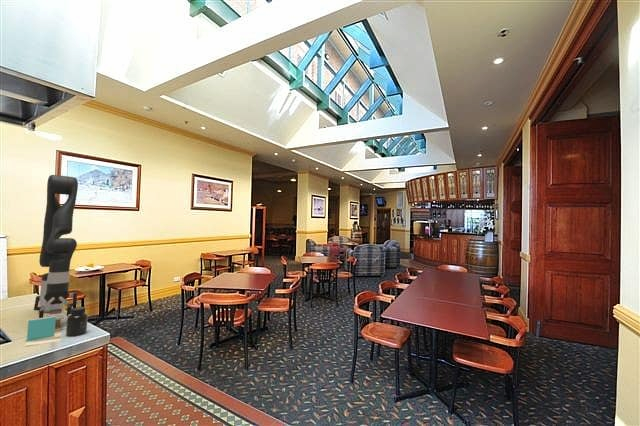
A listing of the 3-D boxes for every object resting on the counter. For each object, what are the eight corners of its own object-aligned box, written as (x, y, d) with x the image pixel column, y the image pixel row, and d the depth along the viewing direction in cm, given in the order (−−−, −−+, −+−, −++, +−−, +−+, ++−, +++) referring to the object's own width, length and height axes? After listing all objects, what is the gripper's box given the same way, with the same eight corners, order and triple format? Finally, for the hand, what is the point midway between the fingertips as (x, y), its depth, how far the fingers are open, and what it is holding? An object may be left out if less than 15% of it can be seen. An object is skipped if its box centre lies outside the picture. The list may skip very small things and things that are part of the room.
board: (29, 329, 126) (29, 326, 126) (59, 324, 133) (60, 322, 133) (24, 350, 107) (25, 346, 107) (60, 343, 114) (60, 340, 114)
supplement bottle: (84, 332, 126) (86, 305, 127) (88, 336, 122) (90, 308, 123) (63, 336, 121) (66, 308, 122) (67, 341, 117) (69, 311, 117)
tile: (26, 339, 113) (28, 319, 114) (54, 335, 119) (55, 316, 119) (26, 341, 112) (28, 320, 113) (54, 336, 118) (55, 317, 118)
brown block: (46, 325, 128) (48, 310, 129) (61, 323, 132) (63, 308, 132) (46, 333, 120) (47, 316, 121) (61, 330, 124) (63, 314, 124)
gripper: (78, 278, 137) (75, 312, 136) (36, 281, 127) (33, 318, 126) (79, 281, 131) (76, 316, 130) (36, 284, 122) (32, 322, 121)
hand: (55, 317), depth 128 cm, fingers open, 8 cm apart
